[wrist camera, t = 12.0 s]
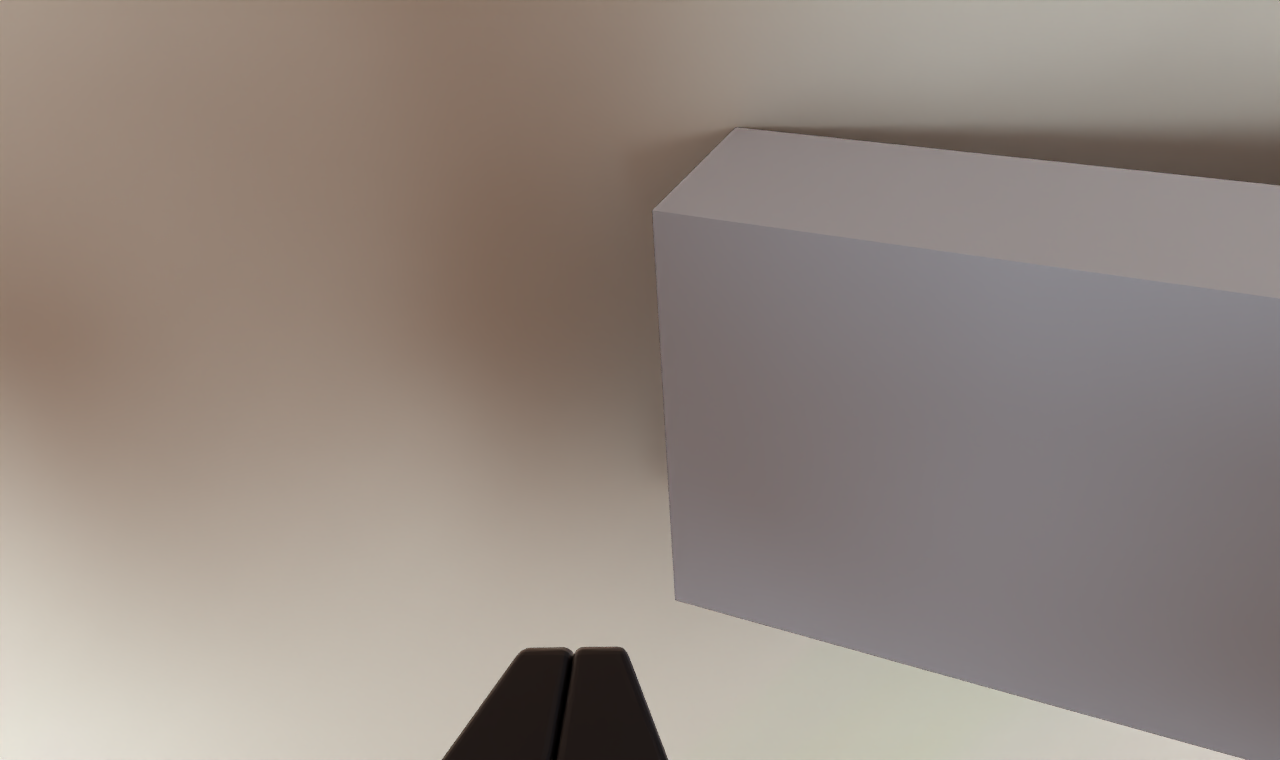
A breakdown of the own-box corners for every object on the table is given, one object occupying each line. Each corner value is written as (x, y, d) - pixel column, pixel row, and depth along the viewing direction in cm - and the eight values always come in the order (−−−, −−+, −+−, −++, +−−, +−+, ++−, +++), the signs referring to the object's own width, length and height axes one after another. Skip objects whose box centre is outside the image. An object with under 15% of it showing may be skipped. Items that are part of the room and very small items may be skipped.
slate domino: (741, 489, 15) (1511, 670, 12) (675, 600, 14) (1548, 844, 10) (736, 127, 12) (1731, 233, 9) (652, 210, 11) (1829, 375, 8)
